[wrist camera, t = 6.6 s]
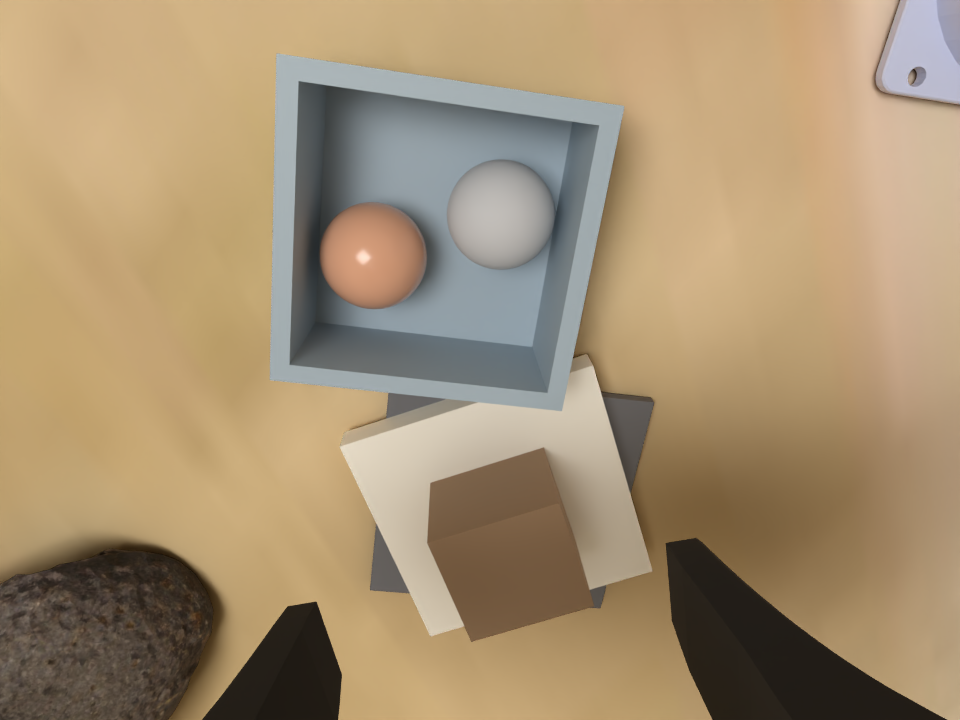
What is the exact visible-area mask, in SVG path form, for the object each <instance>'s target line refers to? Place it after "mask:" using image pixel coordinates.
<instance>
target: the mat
mask: <svg viewBox="0 0 960 720" xmlns="http://www.w3.org/2000/svg"><path fill="white" fill-rule="evenodd" d="M601 394H602V398H603V401H604V405H605V408H606V412H607V415H608V419H609V422H610V426H611V429H612V432H613V436H614V439H615V443H616V446H617V450H618V453H619V457H620V460H621V463H622V467H623V470H624V474H625V477H626V481H627V484H628V488H629V491H630V493H631V489H632V486H633V482H634V478H635V474H636V470H637V467H638V463H639V459H640V455H641V451H642V447H643V444H644V440H645V436H646V432H647V428H648V424H649V421H650V417H651V413H652V409H653V405H654V402H653V400H652V399H651V398H650V397H641V396H632V395H622V394H613V393H604V392H601ZM442 400H446V399H443V398H433V397H424V396H415V395H405V394H396V393H389V394H388V405H387V416H386V419H387V418H390V417H393V416H396V415H399V414H402V413H405V412H408V411H411V410H415V409H418V408H421V407H424V406H427V405H430V404H433V403H436V402H439V401H442ZM605 589H606V585H604V586H601V587H597V588H594V589H591V590H590V593H591V597H592V600H593V604H594V606H593V607H590V608H601V604H602V600H603V597H604V593H605ZM370 590H374V591H386V592H399V593H410V592H409V590H408V588H407V586H406V584H405V582H404V580H403V578H402V576H401V574H400V572H399V569H398V567H397V565H396V563H395V561H394V559H393V557H392V555H391V553H390V551H389V549H388V547H387V544H386V542H385V540H384V538H383V536H382V534H381V532H380V530H379V528H378V526H377V524H376V532H375V543H374V553H373V564H372V574H371V585H370Z"/></svg>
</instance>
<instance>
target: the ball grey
mask: <svg viewBox="0 0 960 720" xmlns="http://www.w3.org/2000/svg"><path fill="white" fill-rule="evenodd" d="M554 219H555V208H554V202H553V198H552V195H551V193H550V191H549V188H548V187H547V185H546V183H545V182H544V180H543V179H542V178H541V177H540V176H539V175H538V174H537V173H536V172H535V171H534V170H532V169H531V168H530V167H528V166H526V165H524V164H522V163H519V162H516V161H512V160H504V159H498V160H490V161H486V162H483V163H480V164H478V165H477V166H475V167H473V168H472V169H470V170H469V171H467V172H466V173H465V174H464V175H463V176H462V177H461V178H460V180H459V181H458V182H457V184H456V185H455V187H454V189H453V191H452V193H451V195H450V198H449V202H448V207H447V223H448V228H449V231H450V234H451V237H452V239H453V241H454V243H455V245H456V246H457V248H458V249H459V250H460V251H461V252H462V254H463V255H465V256H466V257H467V258H468V259H469V260H471V261H472V262H474V263H476V264H478V265H480V266H483V267H486V268H490V269H496V270H505V269H512V268H516V267H519V266H521V265H523V264H525V263H527V262H529V261H530V260H532V259H533V258H534V257H536V256H537V255H538V254H539V253H540V252H541V250H542V249H543V248H544V247H545V245H546V244H547V242H548V240H549V238H550V235H551V233H552V230H553V226H554Z"/></svg>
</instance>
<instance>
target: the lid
mask: <svg viewBox="0 0 960 720" xmlns="http://www.w3.org/2000/svg"><path fill="white" fill-rule="evenodd" d="M340 449H341V451H342V453H343V455H344V457H345V459H346V461H347V463H348V465H349V467H350V469H351V471H352V474H353V476H354V478H355V480H356V482H357V484H358V486H359V488H360V490H361V492H362V494H363V497H364V499H365V501H366V503H367V505H368V507H369V509H370V511H371V513H372V515H373V517H374V519H375V522H376V524H377V526H378V528H379V530H380V532H381V534H382V536H383V538H384V540H385V542H386V544H387V547H388V549H389V551H390V553H391V555H392V557H393V559H394V561H395V563H396V565H397V567H398V569H399V572H400V574H401V576H402V578H403V580H404V582H405V584H406V586H407V588H408V590H409V592H410V595H411V597H412V599H413V601H414V603H415V605H416V607H417V609H418V611H419V613H420V615H421V617H422V620H423V622H424V624H425V626H426V628H427V630H428V632H429V634H430V636H433V635H436V634H440V633H443V632H447V631H450V630H453V629H457V628H460V627H464V626H465V629H466V631H467V633H468V635H469V638H470V640H471V642H472V641H476V640H479V639H483V638H486V637H490V636H493V635H496V634H500V633H503V632H507V631H510V630H514V629H517V628H521V627H524V626H527V625H531V624H534V623H538V622H541V621H545V620H548V619H552V618H555V617H559V616H562V615H565V614H569V613H572V612H576V611H579V610H583V609H586V608H590V607H593V606H594V604H593V600H592V597H591V593H590V590H591V589H594V588H597V587H601V586H604V585H608V584H611V583H615V582H618V581H621V580H625V579H628V578H632V577H635V576H639V575H642V574H645V573H649V572H652V571H653V570H652V567H651V564H650V560H649V557H648V553H647V550H646V546H645V543H644V539H643V536H642V532H641V529H640V526H639V522H638V519H637V515H636V512H635V508H634V505H633V501H632V498H631V495H630V491H629V488H628V484H627V481H626V477H625V474H624V470H623V467H622V463H621V460H620V457H619V453H618V450H617V446H616V443H615V439H614V436H613V432H612V429H611V426H610V422H609V419H608V415H607V412H606V408H605V405H604V401H603V398H602V394H601V391H600V388H599V384H598V381H597V377H596V374H595V370H594V367H593V364H592V363H591V361H590V359H589V357H588V355H587V354H585V355H582V356H579V357H576V358H573V360H572V365H571V370H570V374H569V379H568V384H567V389H566V394H565V399H564V404H563V409H562V411H555V410H546V409H537V408H527V407H518V406H509V405H499V404H490V403H480V402H471V401H462V400H452V399H446V400H442V401H439V402H436V403H433V404H430V405H427V406H424V407H421V408H418V409H415V410H411V411H408V412H405V413H402V414H399V415H396V416H393V417H390V418H387V419H384V420H380V421H377V422H374V423H371V424H368V425H365V426H362V427H359V428H356V429H353V430H349V431H346V432H344V435H343V438H342V441H341V444H340Z"/></svg>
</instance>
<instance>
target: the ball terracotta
mask: <svg viewBox="0 0 960 720" xmlns="http://www.w3.org/2000/svg"><path fill="white" fill-rule="evenodd" d="M426 264H427V251H426V245H425V241H424V238H423V235H422V233H421V231H420V229H419V228H418V226H417V225H416V224H415V222H414V221H413V220H412V219H411V218H410V217H409V216H408V215H407V214H405V213H404V212H403V211H401V210H400V209H398V208H396V207H394V206H391V205H388V204H385V203H380V202H364V203H359V204H356V205H353V206H350V207H348V208H347V209H345V210H343V211H342V212H340V213H339V214H338V215H337V216H335V217H334V218H333V220H332V221H331V222H330V223H329V225H328V226H327V228H326V230H325V232H324V234H323V237H322V240H321V244H320V265H321V269H322V272H323V275H324V277H325V279H326V281H327V283H328V284H329V286H330V287H331V288H332V290H333V291H334V292H335V293H336V294H337V295H338V296H340V297H341V298H342V299H343V300H345V301H347V302H348V303H350V304H352V305H355V306H358V307H361V308H366V309H384V308H389V307H392V306H395V305H397V304H399V303H401V302H402V301H404V300H405V299H407V298H408V297H409V296H410V295H411V294H412V293H413V292H414V291H415V290H416V289H417V287H418V286H419V284H420V282H421V280H422V278H423V276H424V273H425V270H426Z"/></svg>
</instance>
